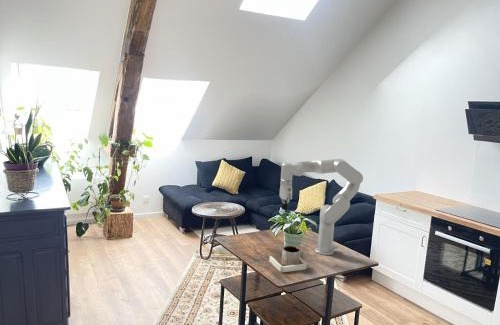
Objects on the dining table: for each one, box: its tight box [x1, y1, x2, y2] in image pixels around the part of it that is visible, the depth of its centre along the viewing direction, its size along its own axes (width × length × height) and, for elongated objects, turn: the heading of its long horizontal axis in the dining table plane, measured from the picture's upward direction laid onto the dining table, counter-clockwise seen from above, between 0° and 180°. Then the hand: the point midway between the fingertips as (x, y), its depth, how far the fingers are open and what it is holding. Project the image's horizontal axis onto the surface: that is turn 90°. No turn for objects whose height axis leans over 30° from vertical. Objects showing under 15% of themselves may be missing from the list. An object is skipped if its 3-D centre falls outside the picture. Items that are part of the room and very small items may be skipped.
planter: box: [281, 245, 302, 266], centre depth 221 cm, size 11×11×10 cm
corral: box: [269, 255, 309, 273], centre depth 220 cm, size 17×16×3 cm
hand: (284, 209), depth 242 cm, fingers closed
